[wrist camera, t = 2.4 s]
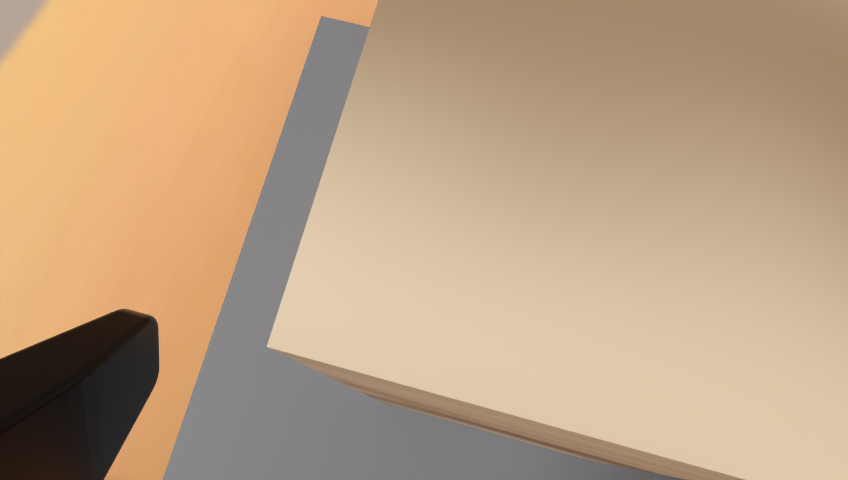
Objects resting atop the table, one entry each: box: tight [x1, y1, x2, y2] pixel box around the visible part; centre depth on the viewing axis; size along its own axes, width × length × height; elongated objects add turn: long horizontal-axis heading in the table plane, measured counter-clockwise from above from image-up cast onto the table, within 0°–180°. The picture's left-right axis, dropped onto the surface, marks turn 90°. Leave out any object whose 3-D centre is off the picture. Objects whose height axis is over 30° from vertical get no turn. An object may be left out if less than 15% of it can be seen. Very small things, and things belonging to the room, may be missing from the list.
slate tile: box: [163, 16, 686, 480], centre depth 18 cm, size 14×14×1 cm
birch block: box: [267, 0, 848, 480], centre depth 12 cm, size 5×5×12 cm
